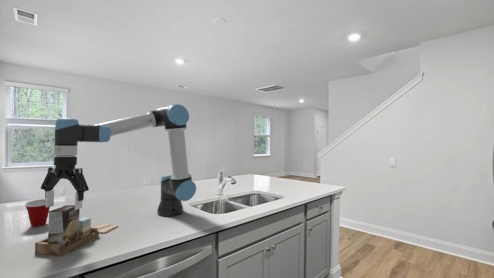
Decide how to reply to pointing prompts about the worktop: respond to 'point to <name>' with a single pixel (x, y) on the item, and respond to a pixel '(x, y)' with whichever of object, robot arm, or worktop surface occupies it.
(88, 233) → the offcut block bottom
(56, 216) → the coffee box
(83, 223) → the offcut block top
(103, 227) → the cork trivet
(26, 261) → the worktop surface
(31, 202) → the plastic cup
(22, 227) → the worktop surface
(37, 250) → the walnut rack
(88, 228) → the offcut block middle
